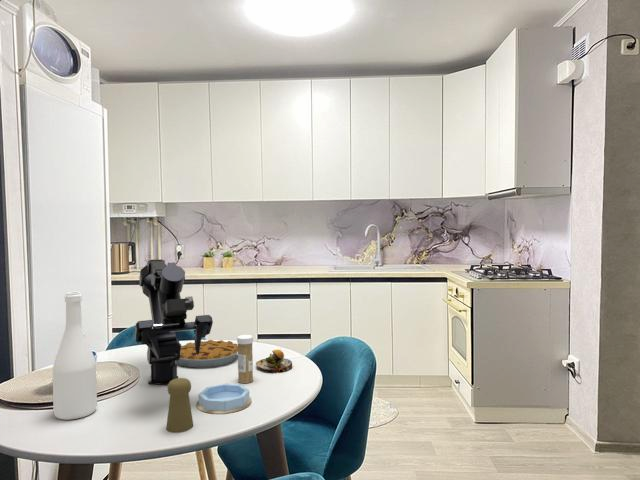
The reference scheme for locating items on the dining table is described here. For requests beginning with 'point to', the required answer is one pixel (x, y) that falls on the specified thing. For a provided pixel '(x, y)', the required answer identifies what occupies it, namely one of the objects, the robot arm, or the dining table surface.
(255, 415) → the dining table surface
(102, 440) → the dining table surface
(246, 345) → the sprinkles bottle
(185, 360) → the pie
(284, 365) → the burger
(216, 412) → the placemat
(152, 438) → the dining table surface
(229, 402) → the bowl
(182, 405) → the cork
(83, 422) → the dining table surface
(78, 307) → the wine bottle
